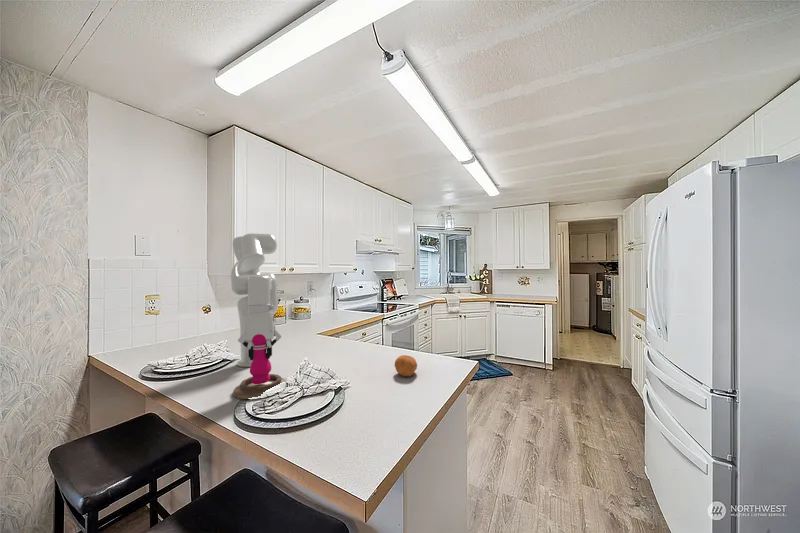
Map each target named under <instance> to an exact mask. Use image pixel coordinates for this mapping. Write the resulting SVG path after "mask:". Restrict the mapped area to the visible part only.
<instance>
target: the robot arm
mask: <svg viewBox="0 0 800 533" xmlns="http://www.w3.org/2000/svg"><path fill="white" fill-rule="evenodd" d="M275 237H276V236H274V235H273V234H270V233H247V234H244V235H243V236H236V237H234V238H233V240H232V249H233V254H234V256H235V259H236V260H237V262H236V263H235V264H234V265H233V267H232V269H231V274H230V284H231V290H232V292H233V294H234V295H238V296H242V297H241V298H239V299H238V300H237V311H238V318H239V331H240V332H239V334H240V337H239V338H238V339H237V341H238V343H239V344H240V359H239V360H238V361H237V362H236V363H237V364H236V365H237V366H238V367H242V368H250V366H251V364H252V361H253V358H254V349H253V345H254V344H253V343H252V338H253V337H254V336H255V335H257V334H262V335H264V336H265V338H266V340H267V341H266V342H267V346H268V347H267V350H266V352H267V359H269V360H270V358H271V357H272V356H273V346H274V345H275V344H276V343H277V342H278V341H280V339H281V338H282V337H283V336H282V335H281V334H280V333H279V331H278V330H276V320H275V319H276V318H275V315H274V314H276V313H277V312H278V311H279V299H278V298H279V296H278V284H277V283H278V282H277V278H276V276H275V275H274V274H273V273H270V272H260V268H261V266H262V265H263V264H264V262H265V260H266V259H265V258H266V257H265V255H271V254H274V253H276V250H277V247H278V243H277V240H276V238H275ZM243 295H247V296H243ZM272 339H273V340H272Z"/></svg>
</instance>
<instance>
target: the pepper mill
mask: <svg viewBox="0 0 800 533" xmlns="http://www.w3.org/2000/svg"><path fill="white" fill-rule="evenodd" d="M266 341H267V340H266V338H265V336H264V335H262V334H257V335H255V336H254V337H253V338H252V343H253V344H254V345H253V349H254V358H253V361H252V364H251V366H250V367H249V374H250V375H251V377H252V378H251V382H252V383H253V384H262V383H266V382H268V381H269V380H270V374H271V373H270V372H271V371H272V364H271V361H270V358H269V359H267V348H268V345H267V342H266Z"/></svg>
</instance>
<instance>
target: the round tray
mask: <svg viewBox="0 0 800 533" xmlns="http://www.w3.org/2000/svg"><path fill="white" fill-rule="evenodd" d="M269 374H270V380H269V381H268V382H266V383H262V384H253V383H252V382H251V378H252V377H253V376H251V377H248V378H245V379H244V380H242V381H241V382H240V384H239V385H237V386H236V387H235V388H233V392H232V393H233V395H232V396H233V397H234V398H235V399H237V400H241V399H248V398H252V397H258V396H261V394H263V392H265V391H266V390H268V389H270V388H272V387H274V386H276V385H278V384H280V383H282V382H284V381H285V380H287V379H286V378H283V377H282V376H281V375H279V374H276V373H269ZM241 401H242V400H241Z"/></svg>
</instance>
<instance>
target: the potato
mask: <svg viewBox="0 0 800 533" xmlns="http://www.w3.org/2000/svg"><path fill="white" fill-rule="evenodd" d="M417 367H418V363H417V361H416V359H415V357H413V356H411V355H406V354H405V355H403V354H402V355H399V356H398V357H396V359H395V361H394V368H395V370H396V373H397V374H398V375H400V376H402V377H411V376H413V374H414V373H415V371H416V370H417V369H418V368H417Z"/></svg>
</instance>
